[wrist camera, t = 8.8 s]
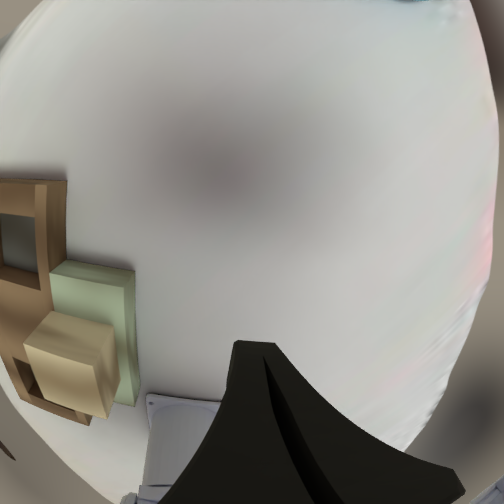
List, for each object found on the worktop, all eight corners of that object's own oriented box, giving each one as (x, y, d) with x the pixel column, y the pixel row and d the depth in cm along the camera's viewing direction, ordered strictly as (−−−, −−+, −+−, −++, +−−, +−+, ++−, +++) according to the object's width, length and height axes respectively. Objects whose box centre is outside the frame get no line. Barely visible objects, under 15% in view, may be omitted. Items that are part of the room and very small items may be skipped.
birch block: (120, 379, 17) (107, 419, 13) (64, 364, 16) (44, 398, 12) (113, 325, 15) (92, 366, 11) (51, 310, 14) (23, 343, 11)
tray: (145, 420, 22) (141, 439, 19) (29, 384, 19) (20, 399, 17) (140, 187, 15) (127, 191, 13) (-11, 178, 13) (-31, 182, 11)
